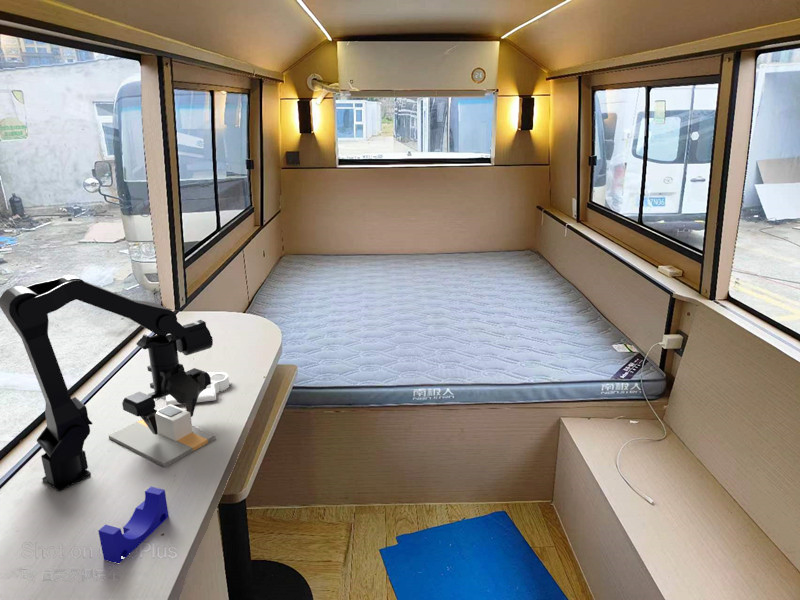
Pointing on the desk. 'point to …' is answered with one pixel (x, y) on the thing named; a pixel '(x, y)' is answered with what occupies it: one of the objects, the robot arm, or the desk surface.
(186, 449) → the grey flat board
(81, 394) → the desk surface
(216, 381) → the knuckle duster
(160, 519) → the blue cradle bracket
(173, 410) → the white block
